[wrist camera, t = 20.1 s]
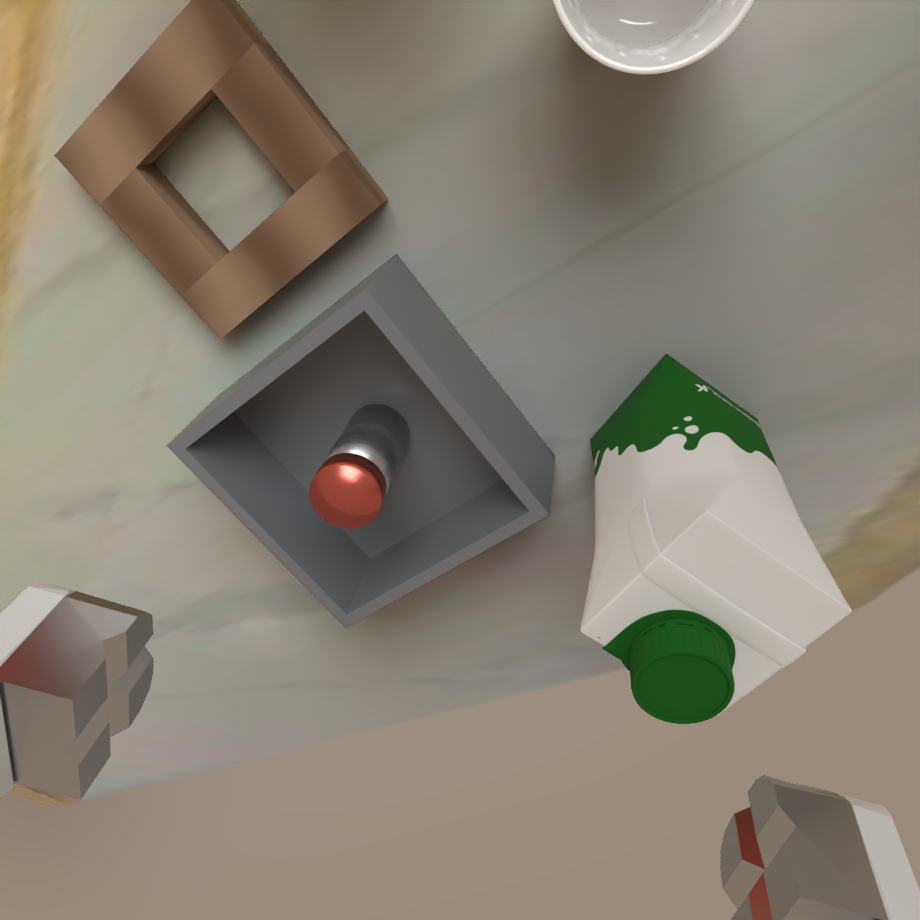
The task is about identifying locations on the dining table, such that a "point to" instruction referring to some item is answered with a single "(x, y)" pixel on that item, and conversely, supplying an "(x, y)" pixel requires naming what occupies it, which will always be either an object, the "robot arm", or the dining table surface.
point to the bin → (421, 469)
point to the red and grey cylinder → (360, 467)
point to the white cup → (650, 30)
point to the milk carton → (698, 551)
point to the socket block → (267, 123)
